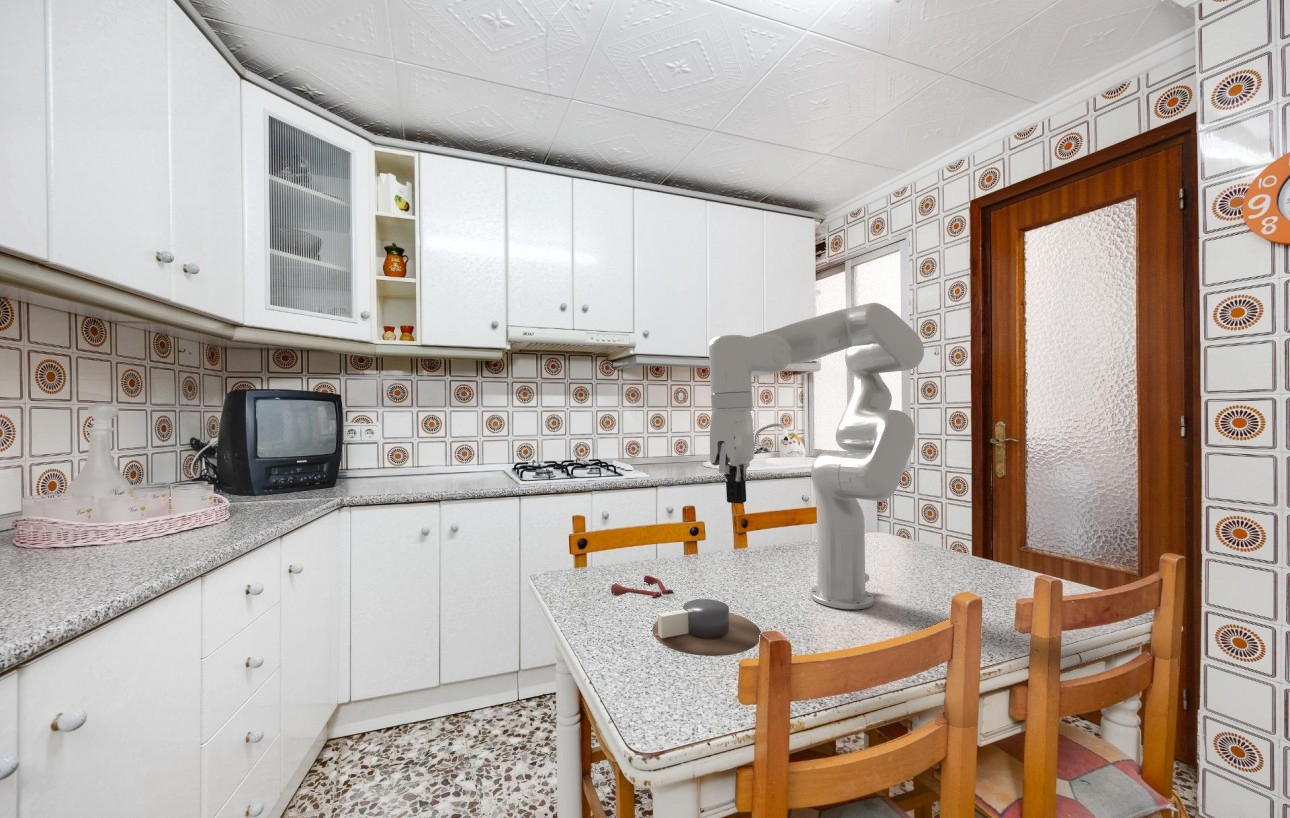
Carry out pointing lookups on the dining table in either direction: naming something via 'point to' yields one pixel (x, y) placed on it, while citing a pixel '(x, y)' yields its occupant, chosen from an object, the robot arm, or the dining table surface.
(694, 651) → the dial plate
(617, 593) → the pliers
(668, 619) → the dial knob
